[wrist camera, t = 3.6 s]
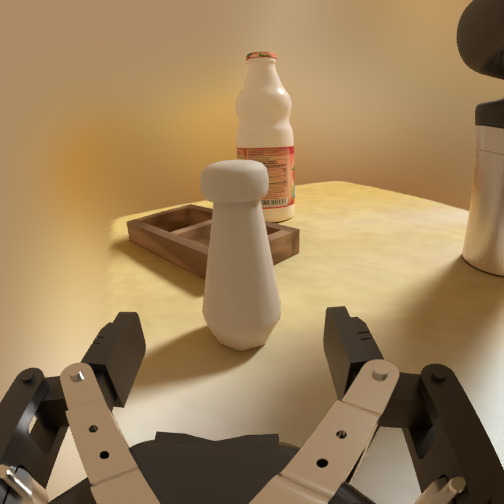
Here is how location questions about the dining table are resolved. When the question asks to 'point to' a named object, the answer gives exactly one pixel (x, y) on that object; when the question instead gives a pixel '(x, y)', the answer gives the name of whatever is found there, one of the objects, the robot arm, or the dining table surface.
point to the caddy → (198, 237)
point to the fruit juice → (268, 133)
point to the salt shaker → (239, 256)
